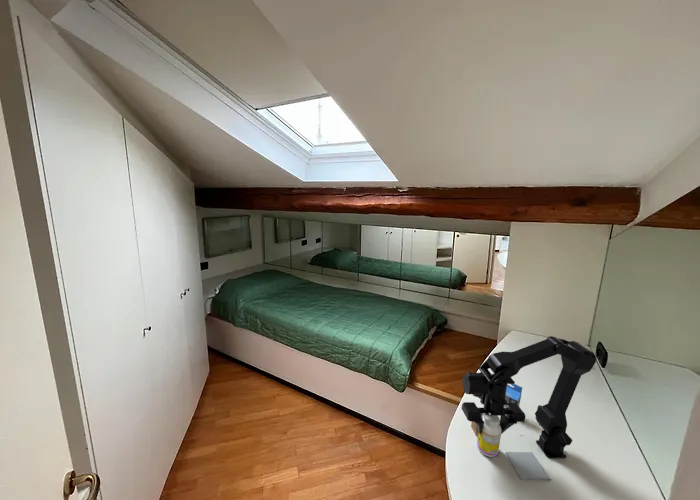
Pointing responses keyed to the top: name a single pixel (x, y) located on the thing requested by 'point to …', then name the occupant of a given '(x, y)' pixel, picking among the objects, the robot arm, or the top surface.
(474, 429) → the walnut block
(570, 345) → the robot arm
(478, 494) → the top surface
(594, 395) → the top surface
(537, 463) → the slate pad
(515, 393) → the label tape cartridge
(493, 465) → the top surface
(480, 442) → the supplement bottle
